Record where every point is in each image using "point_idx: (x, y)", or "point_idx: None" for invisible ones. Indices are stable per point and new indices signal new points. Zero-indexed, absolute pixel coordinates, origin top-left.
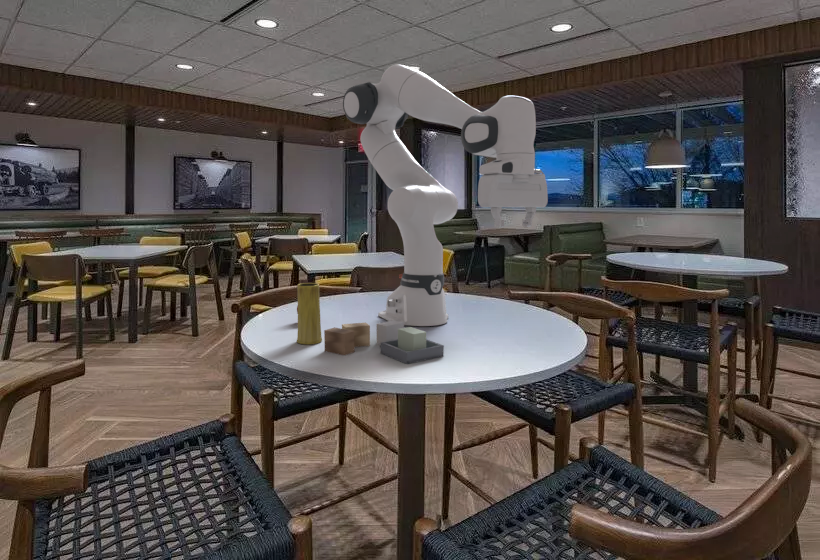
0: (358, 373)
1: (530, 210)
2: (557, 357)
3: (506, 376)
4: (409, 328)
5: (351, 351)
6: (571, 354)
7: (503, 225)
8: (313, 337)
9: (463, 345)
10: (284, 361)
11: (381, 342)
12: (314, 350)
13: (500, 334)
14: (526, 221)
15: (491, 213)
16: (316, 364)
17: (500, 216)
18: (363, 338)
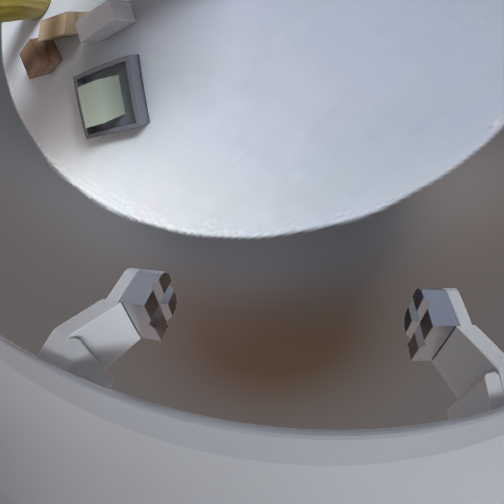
0: (51, 144)
1: (458, 411)
2: (304, 216)
3: (182, 228)
4: (91, 90)
5: (57, 64)
6: (336, 220)
7: (169, 310)
8: (33, 17)
9: (214, 80)
10: (11, 82)
11: (74, 78)
12: None
13: (343, 57)
14: (412, 340)
15: (62, 326)
16: (27, 100)
17: (120, 352)
18: (70, 34)
